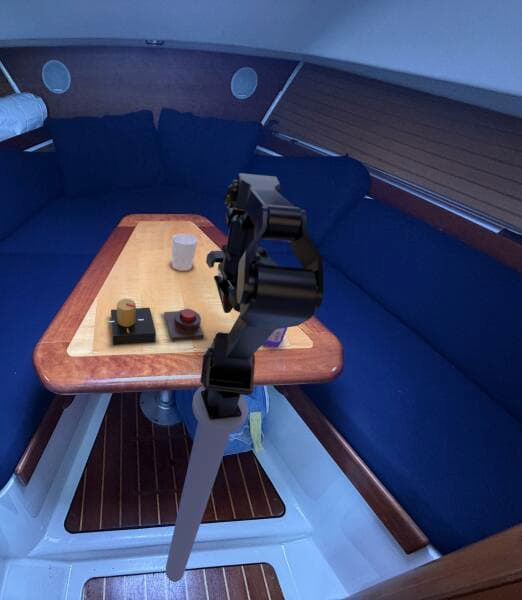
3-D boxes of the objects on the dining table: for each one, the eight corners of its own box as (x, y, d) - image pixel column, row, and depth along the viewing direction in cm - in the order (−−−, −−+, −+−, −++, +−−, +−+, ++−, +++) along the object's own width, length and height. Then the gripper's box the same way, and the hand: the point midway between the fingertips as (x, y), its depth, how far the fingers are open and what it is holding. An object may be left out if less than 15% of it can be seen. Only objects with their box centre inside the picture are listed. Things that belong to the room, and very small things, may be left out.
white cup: (165, 265, 108) (167, 238, 102) (180, 258, 112) (183, 231, 107) (183, 274, 103) (186, 246, 98) (198, 266, 108) (202, 239, 103)
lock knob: (113, 323, 77) (113, 305, 73) (122, 313, 80) (122, 296, 77) (130, 328, 75) (130, 310, 72) (138, 318, 79) (138, 300, 76)
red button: (196, 322, 80) (197, 317, 79) (182, 323, 79) (183, 317, 78) (192, 313, 82) (193, 308, 81) (179, 314, 82) (179, 309, 81)
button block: (204, 338, 79) (205, 329, 77) (171, 341, 77) (172, 331, 76) (193, 313, 87) (195, 304, 85) (164, 315, 85) (164, 306, 84)
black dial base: (155, 342, 77) (155, 332, 75) (109, 345, 75) (109, 335, 73) (149, 316, 85) (149, 306, 83) (107, 318, 83) (107, 309, 81)
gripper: (308, 269, 53) (281, 338, 62) (260, 225, 68) (245, 286, 77) (245, 271, 51) (227, 343, 60) (211, 225, 66) (200, 288, 75)
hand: (226, 311), depth 68 cm, fingers closed
